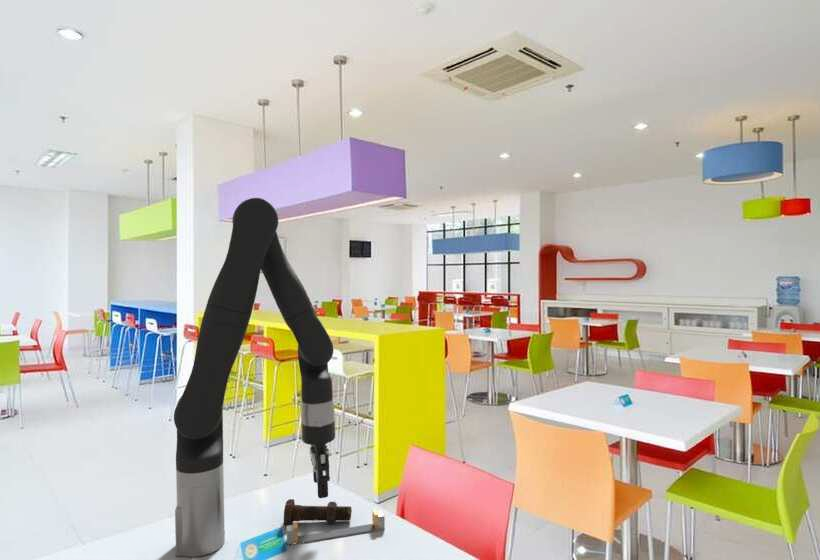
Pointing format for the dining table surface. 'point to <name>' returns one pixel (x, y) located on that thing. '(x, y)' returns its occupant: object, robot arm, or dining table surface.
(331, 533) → the pad
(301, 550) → the dining table surface
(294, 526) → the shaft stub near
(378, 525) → the small wooden block
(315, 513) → the bolt
